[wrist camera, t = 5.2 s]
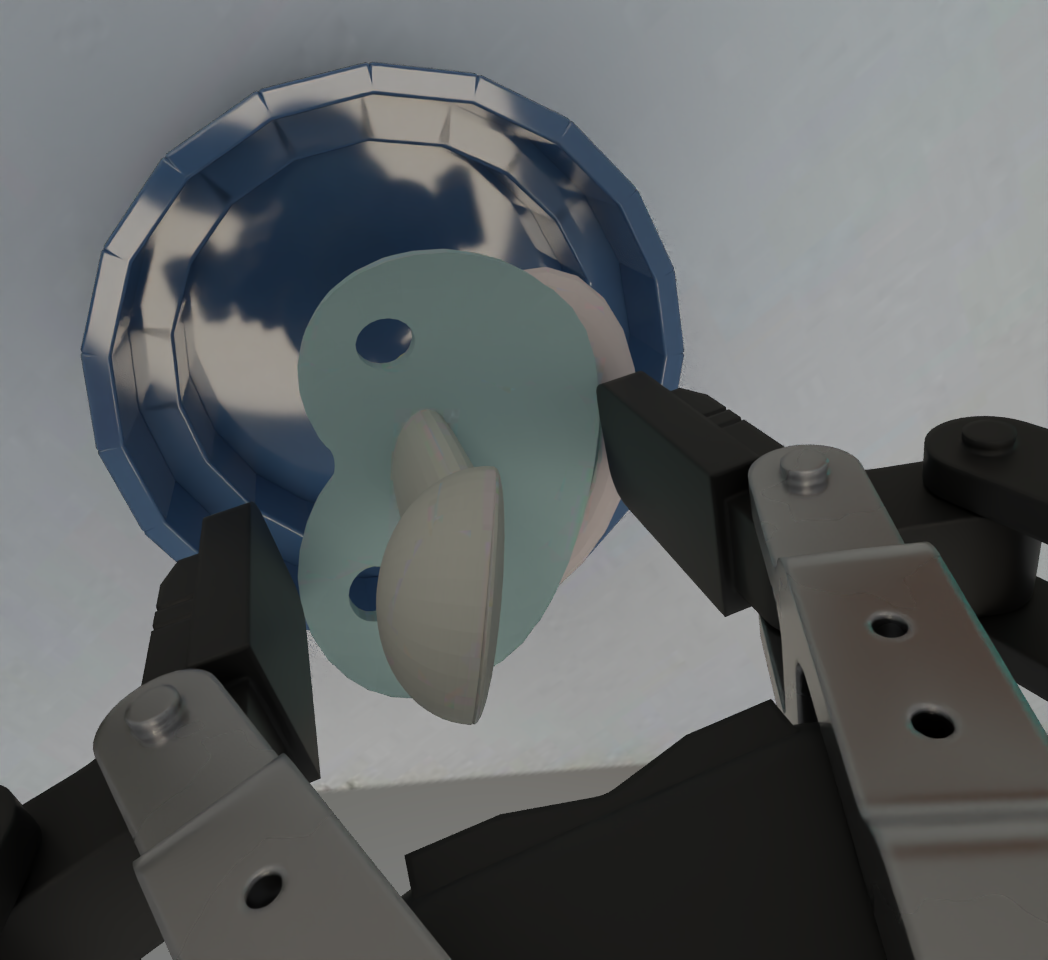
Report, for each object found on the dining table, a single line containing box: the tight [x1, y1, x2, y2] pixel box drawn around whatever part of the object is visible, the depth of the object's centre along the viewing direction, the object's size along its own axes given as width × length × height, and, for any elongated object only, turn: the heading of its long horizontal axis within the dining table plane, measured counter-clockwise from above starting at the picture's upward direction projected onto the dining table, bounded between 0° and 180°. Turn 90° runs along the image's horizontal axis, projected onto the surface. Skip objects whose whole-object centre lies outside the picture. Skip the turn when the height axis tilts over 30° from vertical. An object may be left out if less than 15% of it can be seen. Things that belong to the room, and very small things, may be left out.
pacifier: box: [297, 249, 635, 725], centre depth 11 cm, size 7×6×6 cm
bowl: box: [81, 62, 684, 630], centre depth 18 cm, size 12×12×4 cm
